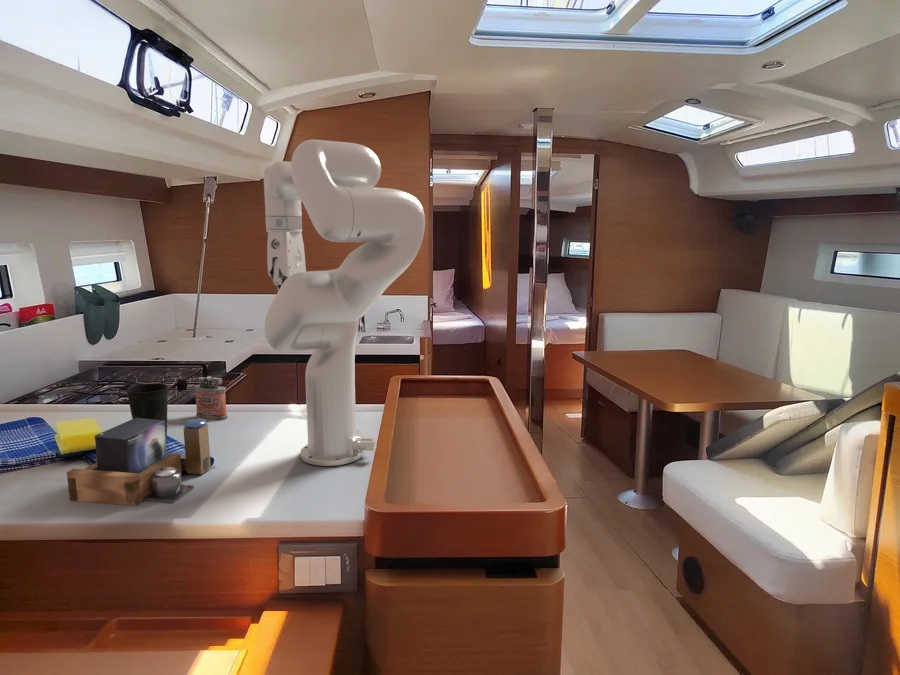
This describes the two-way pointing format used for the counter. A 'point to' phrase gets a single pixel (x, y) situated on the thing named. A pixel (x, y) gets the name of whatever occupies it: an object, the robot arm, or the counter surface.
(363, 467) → the counter surface
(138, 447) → the small box
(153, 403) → the cup
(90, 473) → the bay
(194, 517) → the counter surface
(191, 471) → the container
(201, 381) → the lighter
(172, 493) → the drum
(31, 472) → the counter surface
